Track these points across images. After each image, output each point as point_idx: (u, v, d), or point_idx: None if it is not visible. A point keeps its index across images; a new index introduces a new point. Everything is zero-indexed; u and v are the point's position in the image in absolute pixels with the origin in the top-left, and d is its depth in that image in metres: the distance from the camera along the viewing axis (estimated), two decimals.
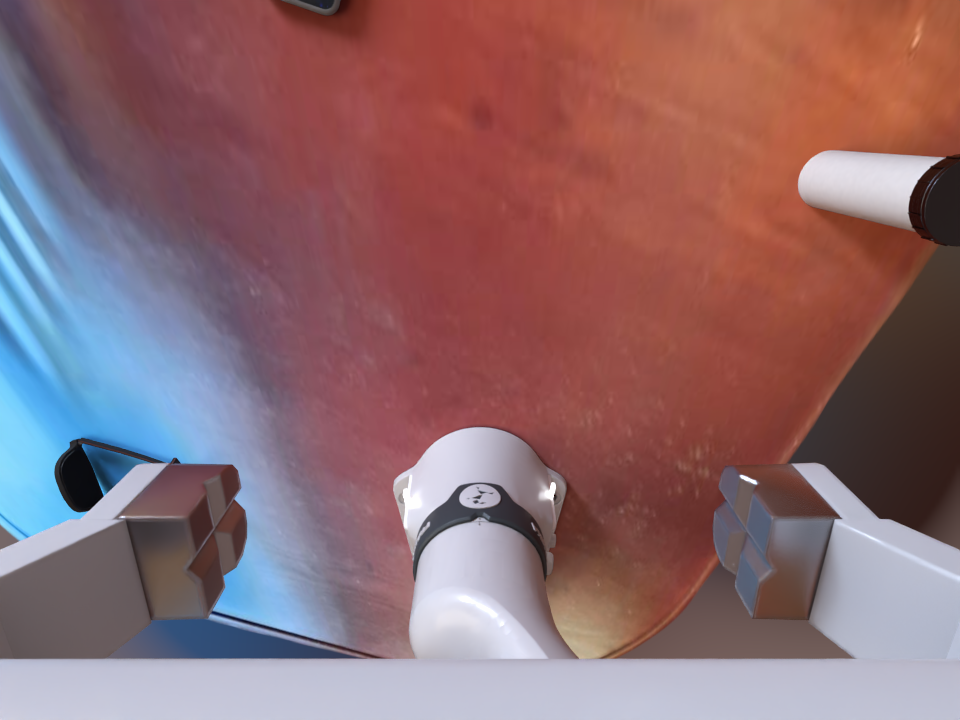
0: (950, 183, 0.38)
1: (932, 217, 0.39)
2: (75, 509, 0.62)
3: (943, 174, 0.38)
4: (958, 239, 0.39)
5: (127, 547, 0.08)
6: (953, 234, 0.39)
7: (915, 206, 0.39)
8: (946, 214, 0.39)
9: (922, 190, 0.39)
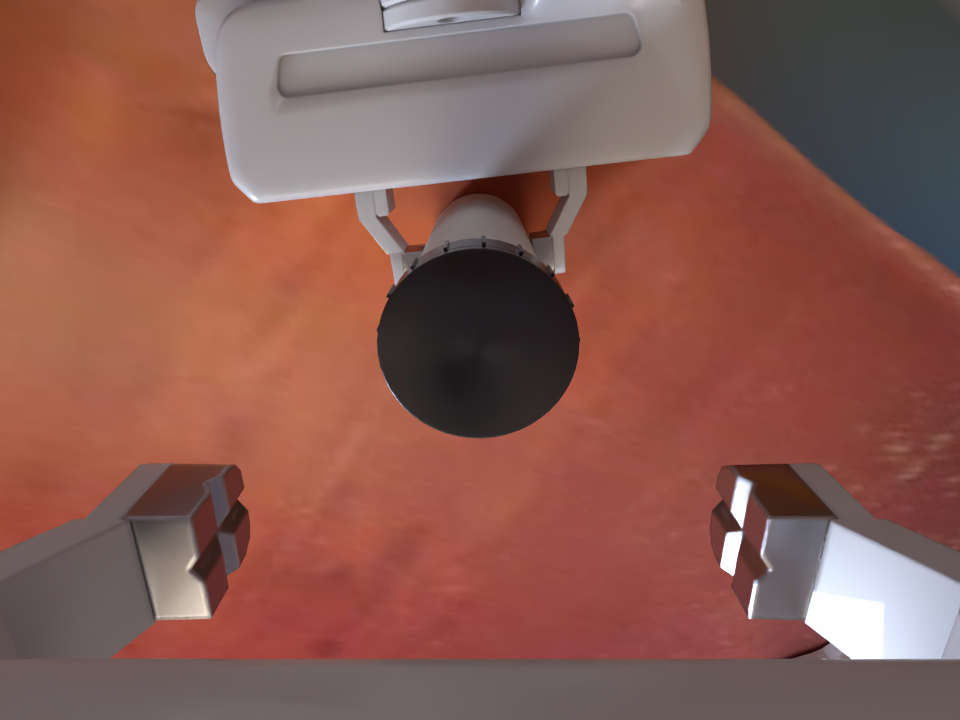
0: (429, 393, 0.17)
1: (497, 423, 0.18)
2: None
3: (408, 408, 0.18)
4: (560, 367, 0.17)
5: (130, 547, 0.08)
6: (547, 377, 0.17)
7: None
8: (496, 396, 0.17)
9: None
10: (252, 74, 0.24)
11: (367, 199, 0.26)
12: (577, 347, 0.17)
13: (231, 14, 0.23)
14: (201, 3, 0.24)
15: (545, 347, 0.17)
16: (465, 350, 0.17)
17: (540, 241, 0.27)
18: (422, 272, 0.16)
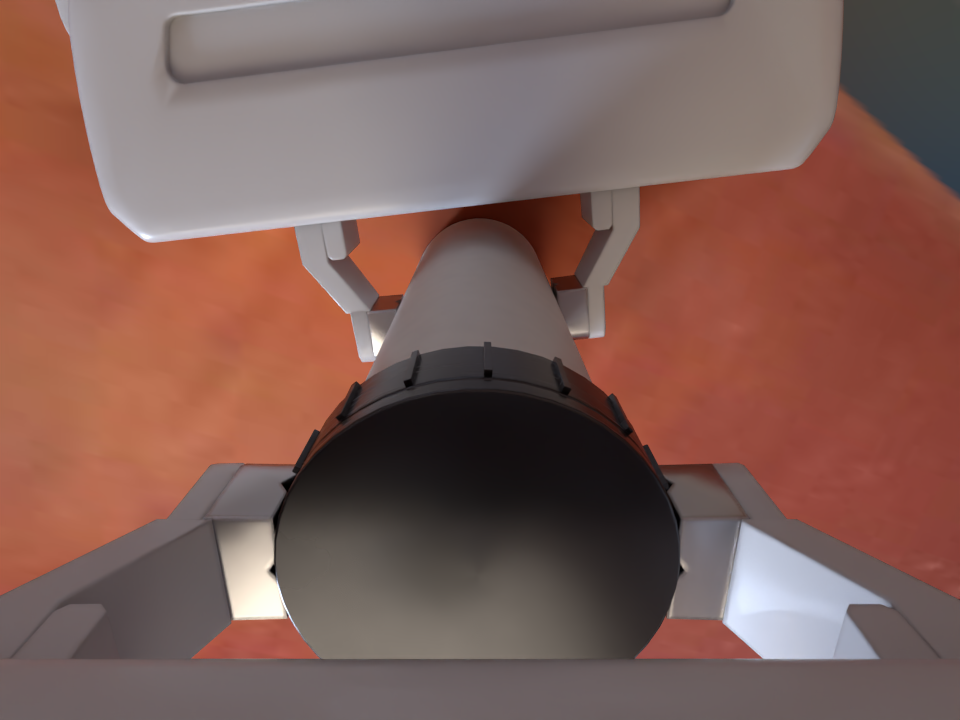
0: (383, 648, 0.09)
1: None
2: None
3: None
4: (639, 605, 0.09)
5: (212, 547, 0.08)
6: (613, 622, 0.09)
7: None
8: (513, 652, 0.09)
9: None
10: (125, 46, 0.15)
11: (314, 235, 0.18)
12: (676, 571, 0.08)
13: None
14: None
15: (612, 571, 0.08)
16: (451, 576, 0.08)
17: (569, 294, 0.18)
18: (359, 435, 0.08)
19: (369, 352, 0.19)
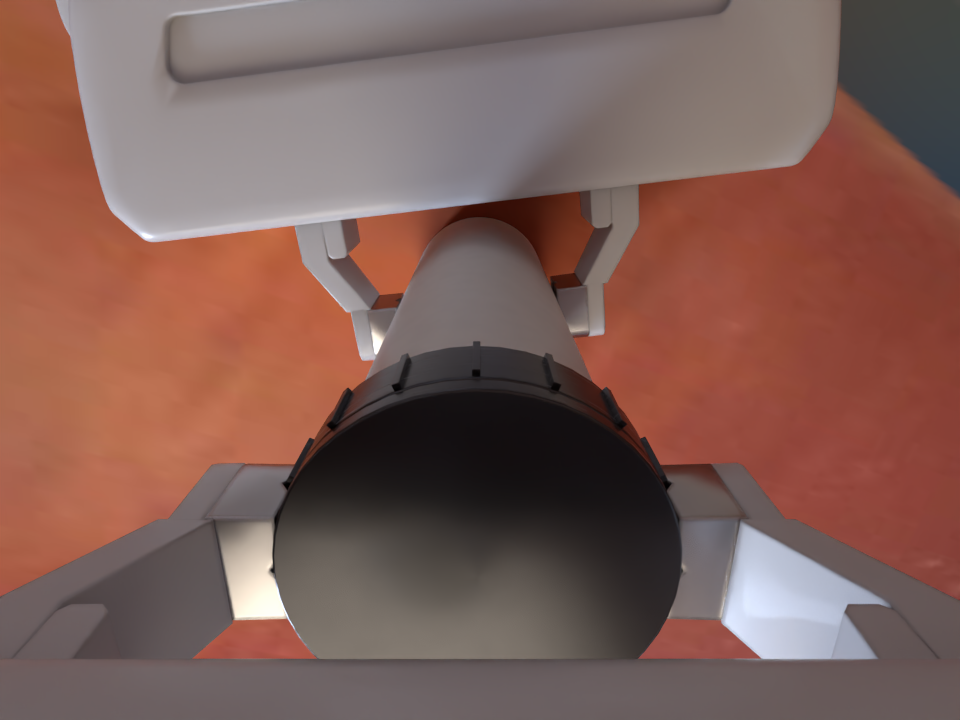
0: (566, 654, 0.09)
1: (649, 548, 0.08)
2: None
3: None
4: (527, 428, 0.08)
5: (213, 547, 0.08)
6: (549, 454, 0.08)
7: None
8: (584, 547, 0.08)
9: None
10: (125, 47, 0.15)
11: (314, 234, 0.18)
12: (479, 394, 0.07)
13: None
14: None
15: (477, 458, 0.08)
16: (478, 597, 0.09)
17: (568, 292, 0.19)
18: (324, 653, 0.09)
19: (369, 350, 0.19)
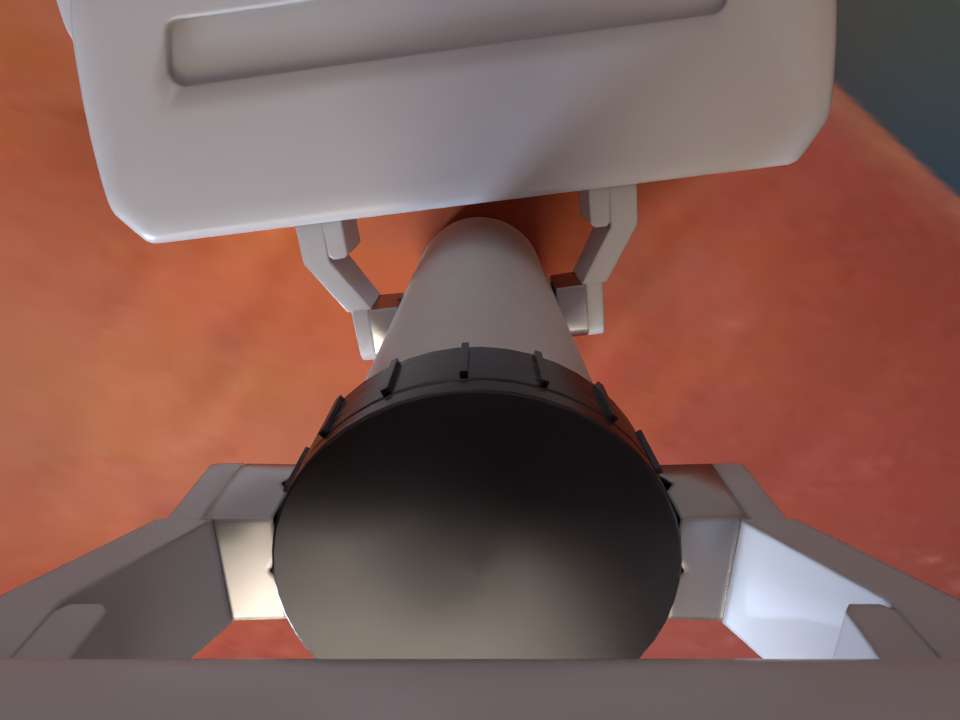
0: (590, 499, 0.08)
1: (445, 425, 0.07)
2: None
3: (645, 471, 0.08)
4: (307, 534, 0.08)
5: (212, 547, 0.08)
6: (333, 517, 0.08)
7: (501, 364, 0.08)
8: (443, 485, 0.08)
9: (574, 391, 0.08)
10: (127, 50, 0.15)
11: (314, 235, 0.18)
12: (275, 569, 0.08)
13: None
14: None
15: (340, 573, 0.08)
16: (502, 577, 0.08)
17: (568, 291, 0.19)
18: None
19: (370, 350, 0.19)
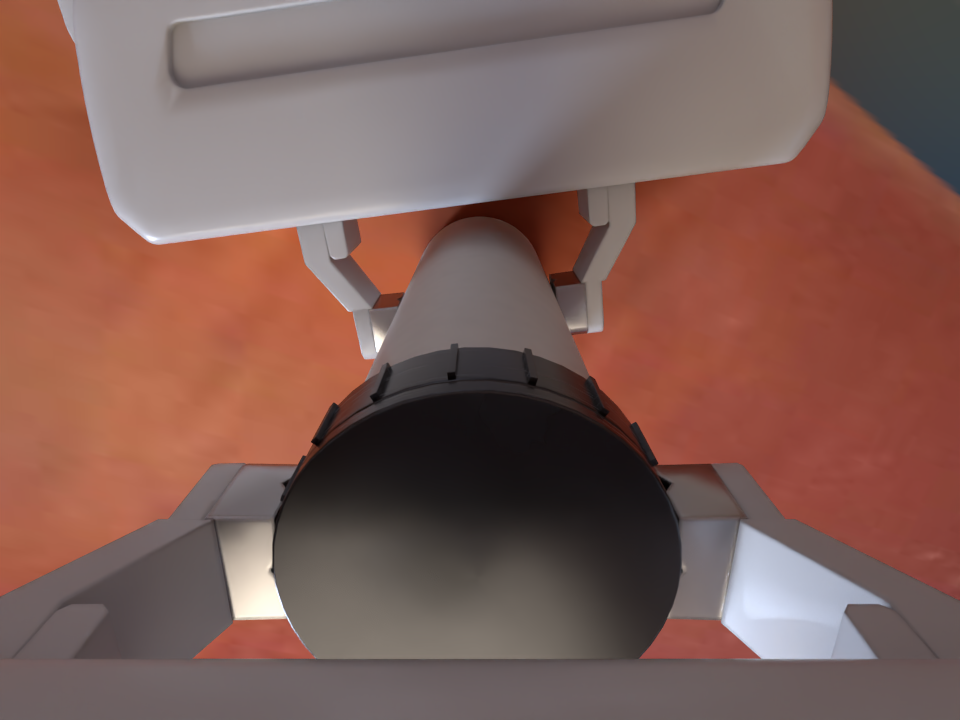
0: (383, 481, 0.08)
1: (308, 594, 0.08)
2: None
3: (347, 434, 0.08)
4: None
5: (214, 547, 0.08)
6: None
7: None
8: (371, 598, 0.09)
9: (303, 462, 0.09)
10: (129, 53, 0.16)
11: (316, 235, 0.18)
12: None
13: None
14: None
15: None
16: (477, 556, 0.08)
17: (567, 290, 0.19)
18: (655, 502, 0.08)
19: (371, 349, 0.19)
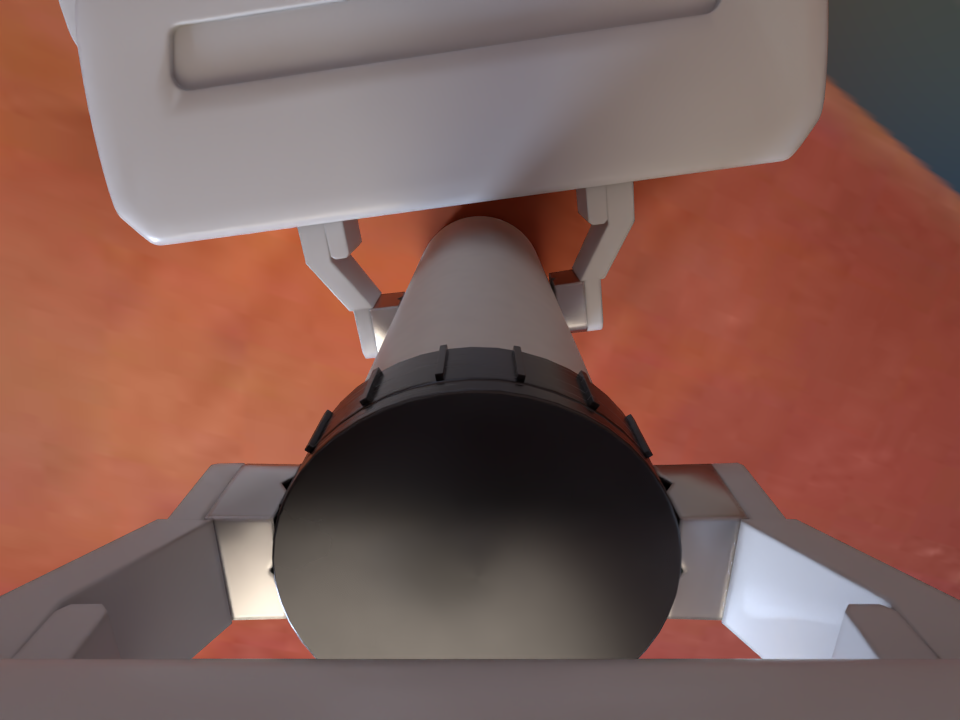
0: (368, 639, 0.09)
1: None
2: None
3: None
4: (630, 626, 0.09)
5: (213, 547, 0.08)
6: (602, 640, 0.09)
7: None
8: (498, 658, 0.09)
9: None
10: (131, 56, 0.16)
11: (316, 235, 0.18)
12: (673, 598, 0.08)
13: None
14: None
15: (610, 590, 0.08)
16: (450, 576, 0.08)
17: (566, 288, 0.19)
18: (384, 423, 0.07)
19: (372, 348, 0.20)
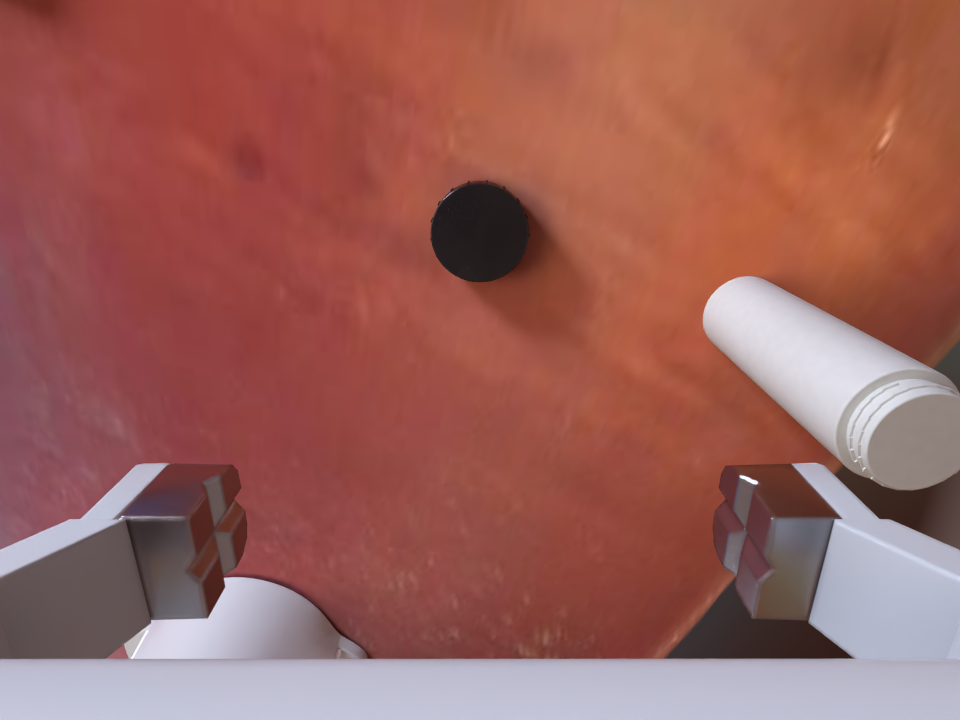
0: (498, 262, 0.36)
1: (521, 232, 0.35)
2: None
3: (504, 274, 0.36)
4: (496, 195, 0.34)
5: (127, 547, 0.08)
6: (501, 202, 0.34)
7: None
8: (505, 229, 0.35)
9: None
10: None
11: None
12: (487, 185, 0.34)
13: None
14: None
15: (484, 201, 0.34)
16: (479, 240, 0.35)
17: None
18: (438, 252, 0.35)
19: None
